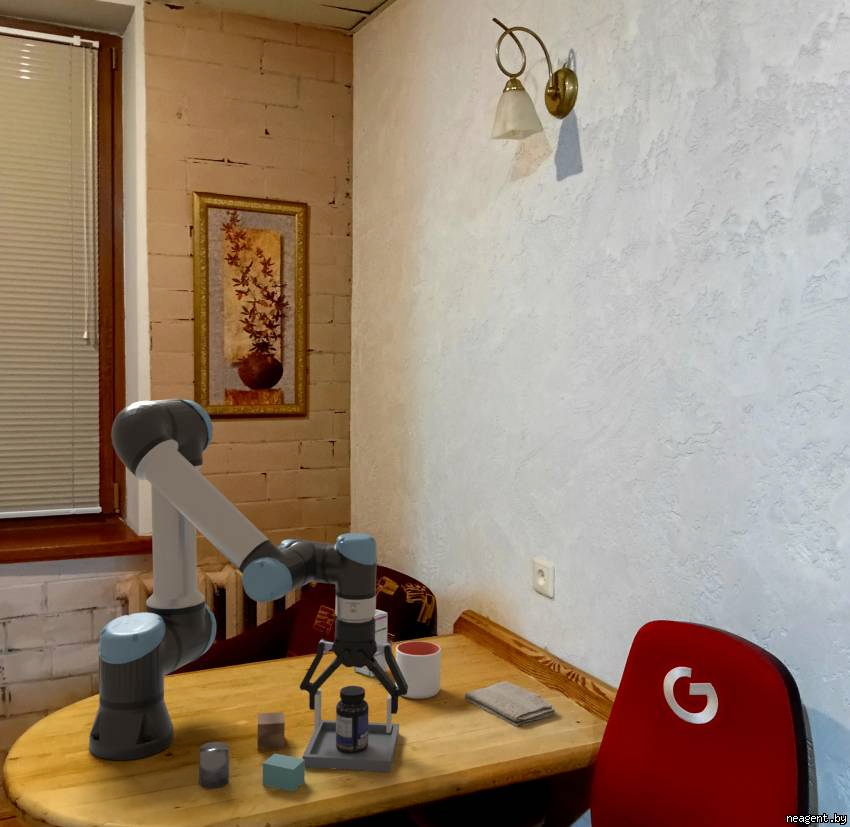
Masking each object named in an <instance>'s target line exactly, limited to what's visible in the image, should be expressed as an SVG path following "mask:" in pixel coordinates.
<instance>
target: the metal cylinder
mask: <svg viewBox="0 0 850 827" xmlns="http://www.w3.org/2000/svg"><path fill="white" fill-rule="evenodd" d="M198 753H199V754H198V755H199V757H198V759H199V760H198V763H199V764H198V766H199V768H198V781H199V782H198V785H199V786H200V787H201V788H203V789H206V790H216V789H221V788H223V787H225V786H227V785H228V784H229V782H230V745H229V744H228V743H226V742H222V741H212V742H207V743H205V744H203V745H201V746H200V747H199V752H198Z"/></svg>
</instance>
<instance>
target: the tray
mask: <svg viewBox="0 0 850 827" xmlns="http://www.w3.org/2000/svg"><path fill="white" fill-rule="evenodd" d="M386 726H387V722H369V721H368V746H367V748H366V749H365V750H363V751H361V752H357V753H344V752H342V751H339V750H338V749H337V747H336V720H330V719H328V720H327V719H321V724H320V726H319V729H314V730H313V732H312V735H311V736H310V739H309V741H308V743H307V746H306V747H305V749H304V752H303V754H302V757H301V759H304V760H305V768H307V767H311V768H310V769H326V768H335V769H334V770H344V769H351V770H350V771H362V770H363V771H366V772H383V773H391V772H392V768H393V767H392V766H393V763H394V759H395V758H394V757H395V755H396V754H395V753H396V749H397V744H398V741H399V737H400V724H399V723H392V728H391V732H390V733H386ZM313 767H314V768H313ZM353 769H354V770H353Z"/></svg>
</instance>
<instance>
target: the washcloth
mask: <svg viewBox="0 0 850 827" xmlns="http://www.w3.org/2000/svg"><path fill="white" fill-rule="evenodd" d="M463 699H464V700H465V701H466V700H467V701H466V702H468V701H469V702H468V703H470V702H471V703H470V704H472V703H473V704H472V705H474V704H475V705H477V706H479V707H478V708H479V709H481V708H482V709H481V710H482V711H485V710H486V711H485V712H487V713H489V714H491V715H493V714H494V715H493V716H495V717H497V718H499V719H501V720H503V721H504V722H506V723H508V724H510V725H511V726H513V727H514V728H518V727H520V726H527V725H530V724H535V723H537V722H540V721H544V720H547V719H550V718H552V717H555V716H556V714H557V713H556V712H555V711H556V710H555V709H554V707H553V703H551V702H549V701H547V700H545V699H543V698H542V696H541V695H540V694H538V693H535V692H532V691H529V690H527V689H525V688H523V687H521V686H518V685H516V684H513V683H511V682H510V681H501V682H497V683H494V684H492V685H489V686H487V687H481V688H478V689H474V690H470V691H468V692H466V693H465V694H464V698H463ZM475 705H474V706H475ZM477 706H476V707H477Z"/></svg>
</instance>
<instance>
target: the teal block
mask: <svg viewBox="0 0 850 827" xmlns="http://www.w3.org/2000/svg"><path fill="white" fill-rule="evenodd" d="M305 770H306V767H305V760H304V759H302V758H299V757H295V756H289V755H284V754H280V753H279V754H278V753H273V754H272V755H271V756H269V757H268V758H267V759H266V760H265V761H263V762H262V786H267V787H271V788H274V789H275V788H276V789H279V788H280V790H284V791H289V792H292V791H293V792H294V791H296V790H297V789H298V788H299V787H301V785H303V783H304V782H305ZM300 784H301V785H300ZM297 787H298V788H297ZM296 788H297V789H296Z"/></svg>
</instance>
